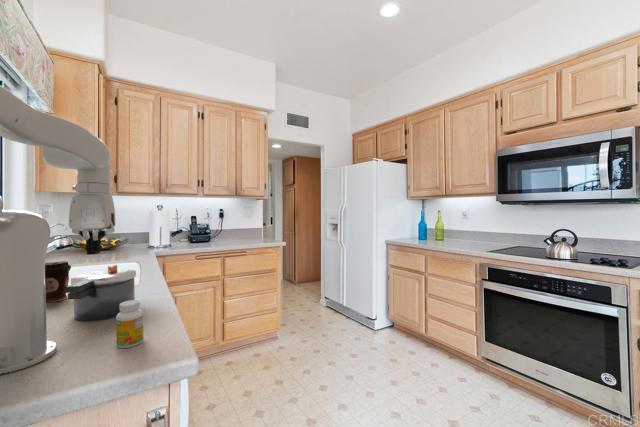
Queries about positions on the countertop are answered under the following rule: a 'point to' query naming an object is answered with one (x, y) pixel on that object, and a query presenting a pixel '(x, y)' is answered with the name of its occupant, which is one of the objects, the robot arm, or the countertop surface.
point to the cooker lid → (99, 278)
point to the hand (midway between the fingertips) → (93, 253)
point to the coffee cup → (56, 280)
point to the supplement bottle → (129, 324)
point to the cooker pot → (102, 300)
